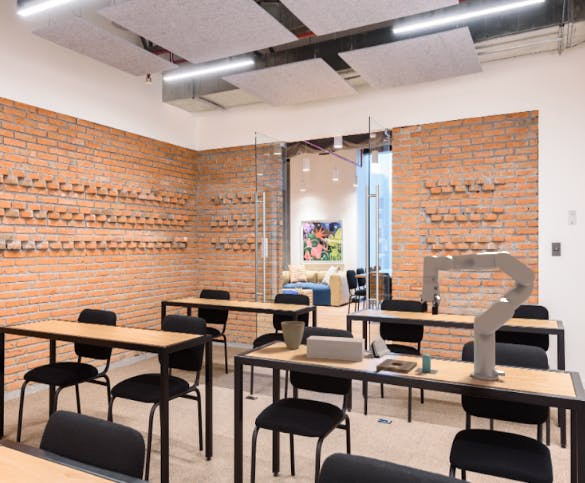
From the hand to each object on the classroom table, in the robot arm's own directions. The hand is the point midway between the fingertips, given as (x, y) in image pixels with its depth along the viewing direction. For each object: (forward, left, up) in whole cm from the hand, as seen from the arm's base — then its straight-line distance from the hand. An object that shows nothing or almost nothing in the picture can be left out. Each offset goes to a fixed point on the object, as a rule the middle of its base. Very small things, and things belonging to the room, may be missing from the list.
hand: (429, 313), depth 232 cm
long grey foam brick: (+54, -5, -30) cm, 62 cm away
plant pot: (+87, -13, -30) cm, 93 cm away
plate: (0, +5, -30) cm, 30 cm away
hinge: (+34, -24, -30) cm, 52 cm away
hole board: (+15, +5, -30) cm, 34 cm away
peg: (0, +5, -28) cm, 29 cm away
